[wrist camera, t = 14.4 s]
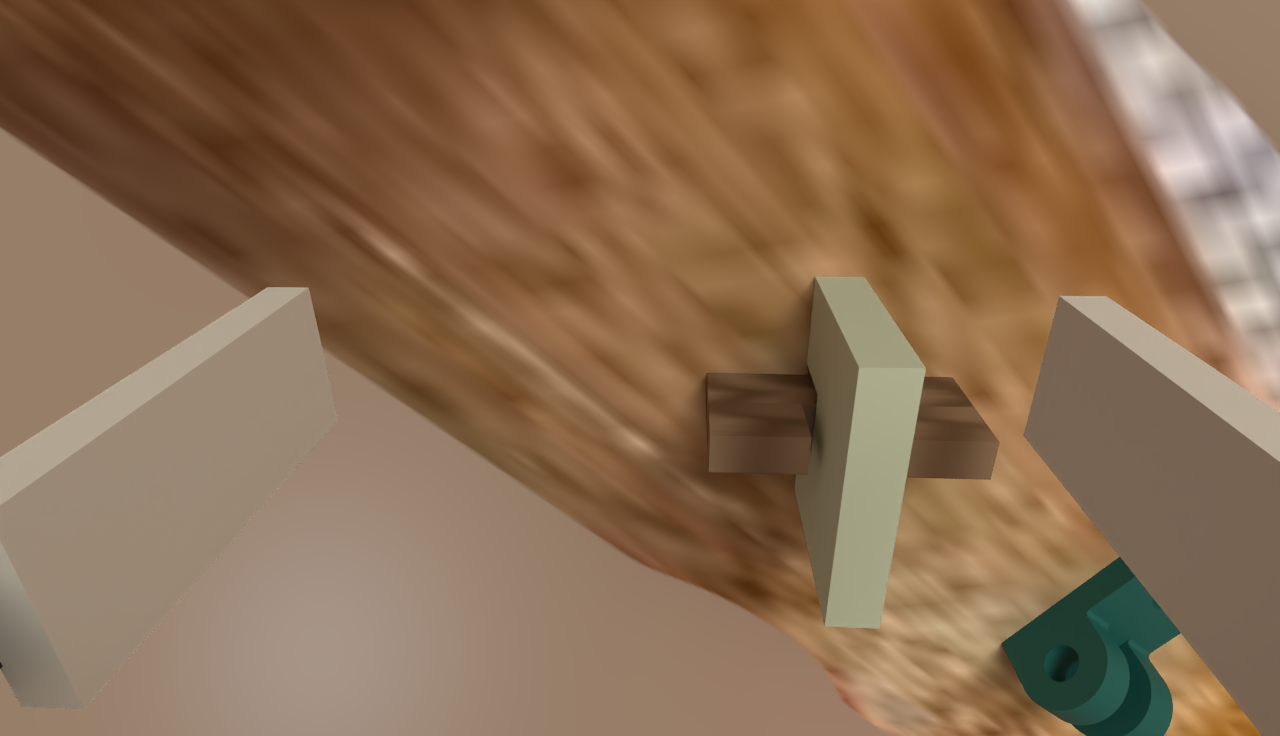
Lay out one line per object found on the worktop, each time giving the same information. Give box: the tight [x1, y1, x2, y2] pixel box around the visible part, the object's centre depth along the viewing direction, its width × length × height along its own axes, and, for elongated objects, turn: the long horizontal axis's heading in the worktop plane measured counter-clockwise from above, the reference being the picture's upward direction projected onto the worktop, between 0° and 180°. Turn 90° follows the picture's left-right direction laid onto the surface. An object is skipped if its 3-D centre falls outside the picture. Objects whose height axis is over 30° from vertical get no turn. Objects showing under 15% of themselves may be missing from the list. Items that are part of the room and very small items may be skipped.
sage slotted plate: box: [794, 277, 926, 628], centre depth 42 cm, size 16×3×13 cm, turn 1°
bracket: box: [1002, 557, 1180, 736], centre depth 51 cm, size 18×7×8 cm, turn 144°
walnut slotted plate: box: [706, 373, 999, 480], centre depth 45 cm, size 16×2×8 cm, turn 91°
